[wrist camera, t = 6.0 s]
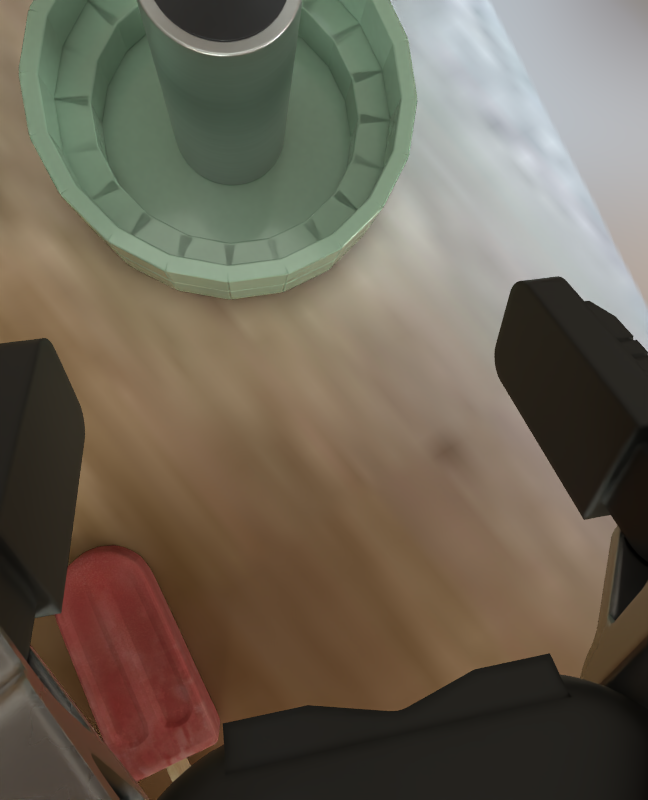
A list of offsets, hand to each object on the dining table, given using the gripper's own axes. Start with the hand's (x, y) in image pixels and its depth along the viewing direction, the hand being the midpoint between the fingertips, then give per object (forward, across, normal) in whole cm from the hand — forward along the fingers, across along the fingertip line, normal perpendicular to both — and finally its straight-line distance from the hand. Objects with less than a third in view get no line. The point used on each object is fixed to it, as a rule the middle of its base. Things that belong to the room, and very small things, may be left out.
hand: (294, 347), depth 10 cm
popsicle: (+3, +7, +22) cm, 23 cm away
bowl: (+20, 0, +4) cm, 21 cm away
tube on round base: (+22, 0, +1) cm, 22 cm away
